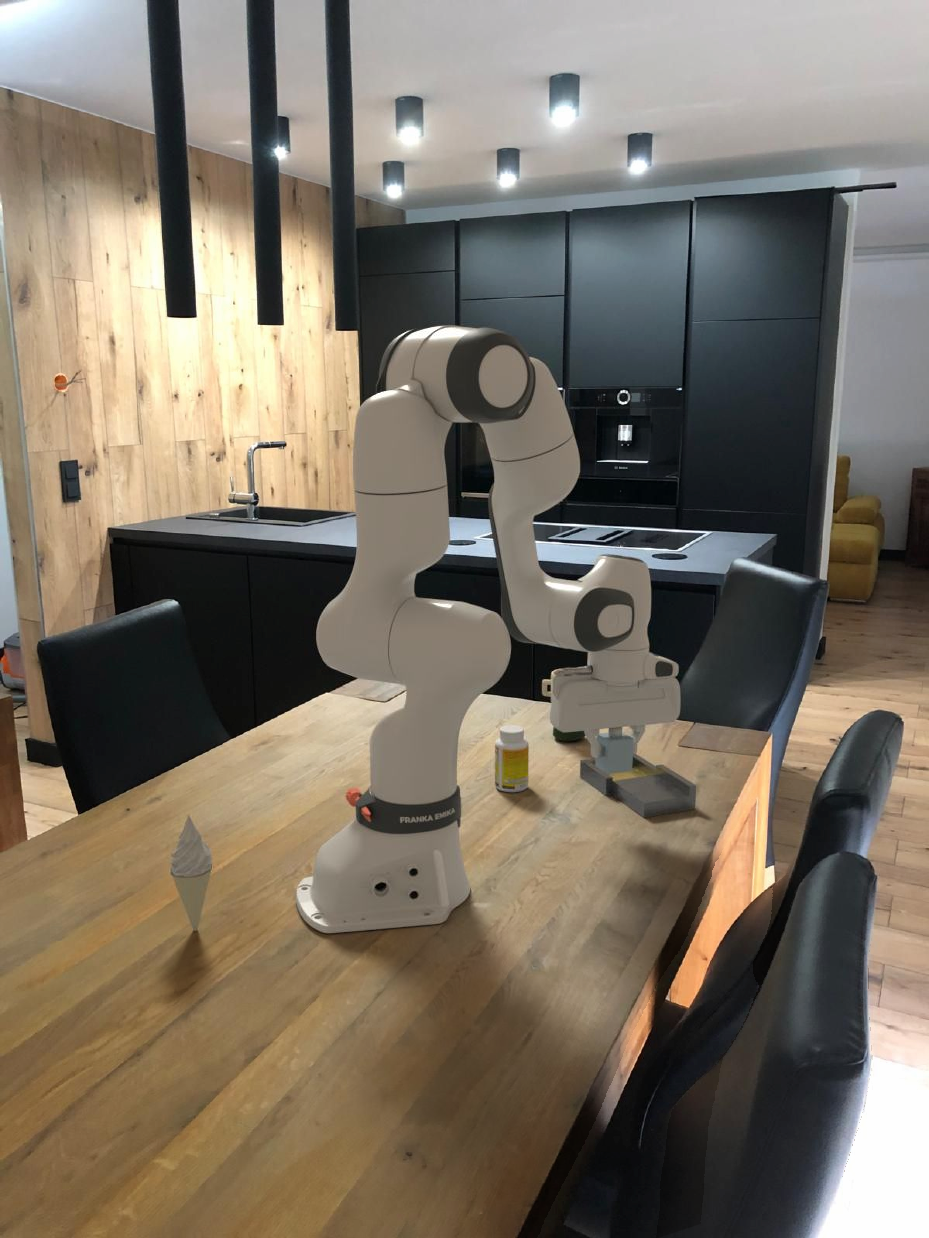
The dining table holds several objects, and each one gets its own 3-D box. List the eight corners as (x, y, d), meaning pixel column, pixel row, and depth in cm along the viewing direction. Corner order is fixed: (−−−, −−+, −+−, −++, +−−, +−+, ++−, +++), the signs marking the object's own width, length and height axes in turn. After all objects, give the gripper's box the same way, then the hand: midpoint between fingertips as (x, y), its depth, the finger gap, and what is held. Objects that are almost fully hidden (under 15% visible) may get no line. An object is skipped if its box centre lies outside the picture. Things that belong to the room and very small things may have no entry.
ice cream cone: (196, 944, 118) (188, 825, 114) (164, 934, 120) (156, 817, 117) (225, 925, 122) (218, 810, 119) (194, 915, 124) (187, 802, 121)
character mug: (601, 736, 191) (603, 670, 189) (591, 747, 185) (593, 680, 182) (547, 729, 195) (548, 665, 193) (535, 740, 189) (536, 674, 186)
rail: (636, 818, 153) (637, 794, 152) (580, 776, 170) (580, 754, 170) (695, 809, 156) (696, 785, 156) (633, 768, 174) (634, 747, 173)
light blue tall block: (608, 773, 146) (610, 731, 145) (595, 765, 150) (597, 723, 149) (632, 771, 148) (634, 728, 147) (618, 763, 151) (620, 721, 150)
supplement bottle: (535, 788, 166) (535, 729, 163) (510, 796, 162) (510, 736, 160) (512, 778, 170) (513, 721, 168) (487, 786, 166) (487, 728, 164)
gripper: (563, 673, 140) (560, 767, 142) (688, 664, 147) (683, 754, 149) (544, 664, 146) (541, 755, 148) (665, 655, 153) (661, 742, 155)
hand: (613, 754), depth 149 cm, fingers closed on light blue tall block, 4 cm apart
